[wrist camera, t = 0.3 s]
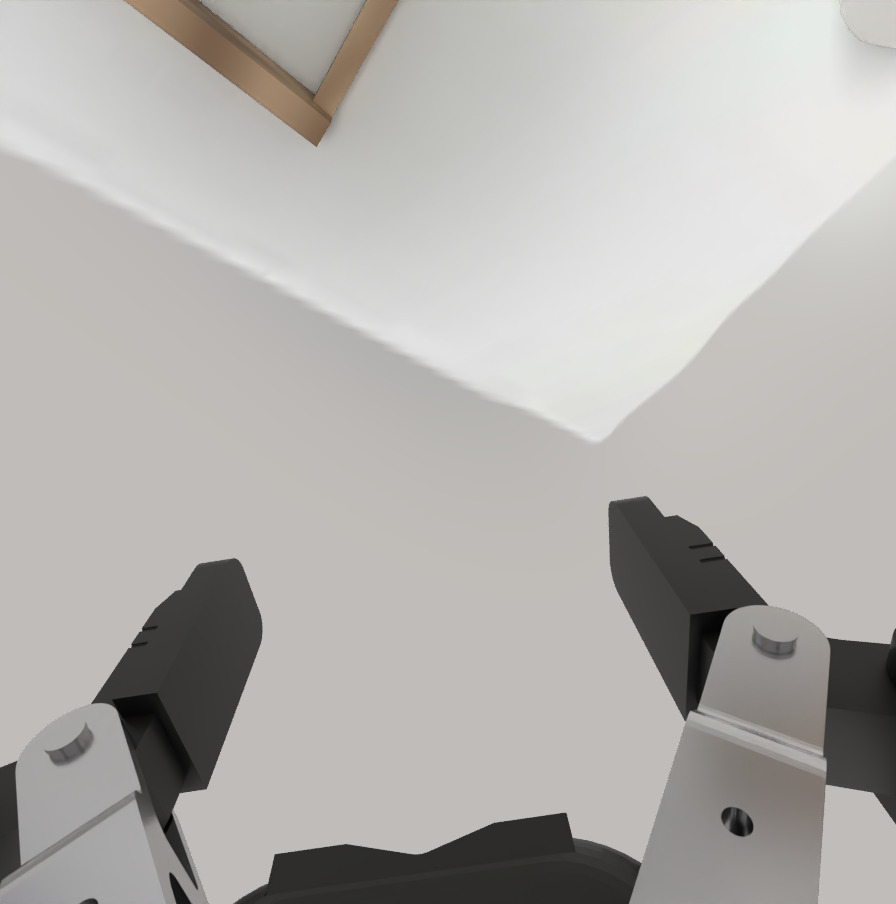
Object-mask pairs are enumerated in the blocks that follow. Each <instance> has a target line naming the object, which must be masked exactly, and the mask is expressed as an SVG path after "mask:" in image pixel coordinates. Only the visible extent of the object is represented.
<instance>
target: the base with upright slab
mask: <svg viewBox="0 0 896 904" xmlns="http://www.w3.org/2000/svg"><path fill="white" fill-rule="evenodd" d="M839 2H840V12H841V15H842V17H843V19H844V21H845V24H846V26H847V28H848V30H849V31H850V32H851V33H852V34H854V35H855V36H856V37H857V38H858V39H859V40H860V41H863V42H867V43H870V44H874V45H877V46H883V47H889V48H894V49H896V0H839Z"/></svg>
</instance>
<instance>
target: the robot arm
mask: <svg viewBox="0 0 896 904" xmlns="http://www.w3.org/2000/svg"><path fill="white" fill-rule="evenodd" d="M609 544H610V566H611V572H612V576H613V581H614V584H615V587H616V589H617V592H618V594H619V595H620V597H621V599H622V601H623V603H624V605H625V607H626V609H627V611H628V613H629V615H630V617H631V618H632V620H633V622H634V624H635V626H636V628H637V630H638V632H639V634H640V636H641V638H642V640H643V641H644V643H645V645H646V647H647V649H648V651H649V653H650V655H651V657H652V659H653V660H654V663H655V664H656V666H657V668H658V670H659V672H660V674H661V676H662V678H663V680H664V682H665V684H666V686H667V687H668V689H669V691H670V693H671V695H672V697H673V699H674V701H675V703H676V705H677V707H678V709H679V710H680V712H681V714H682V716H683V718H684V720H685V721H686V723H685V726H684V729H683V733H682V736H681V739H680V742H679V745H678V749H677V752H676V755H675V758H674V761H673V765H672V768H671V771H670V774H669V777H668V781H667V784H666V787H665V790H664V793H663V797H662V800H661V803H660V806H659V809H658V813H657V816H656V819H655V822H654V825H653V829H652V832H651V835H650V838H649V841H648V845H647V848H646V851H645V854H644V857H643V861H642V863H640V862H638V861H637V860H635V859H633V858H631V857H630V856H628V855H626V854H624V853H622V852H620V851H617V850H615V849H612V848H610V847H607V846H605V845H602V844H598V843H595V842H591V841H588V840H582V839H576V838H572V834H571V830H570V826H569V822H568V818H567V814H566V813H560V814H553V815H546V816H539V817H533V818H525V819H518V820H512V821H504V822H498V823H493V824H491V825H488V826H486V827H484V828H482V829H479V830H477V831H475V832H472V833H470V834H468V835H466V836H463V837H461V838H459V839H457V840H454V841H452V842H450V843H447V844H445V845H443V846H440V847H438V848H436V849H434V850H431V851H429V852H427V853H424V854H418V855H413V854H406V853H400V852H393V851H387V850H380V849H373V848H367V847H361V846H354V845H348V844H344V845H337V846H330V847H323V848H316V849H310V850H302V851H295V852H288V853H281V854H275V856H274V861H273V865H272V869H271V874H270V878H269V882H268V884H266V885H264V886H261V887H259V888H258V889H256V890H254V891H253V892H251V893H249V894H247V895H246V896H244V897H242V898H241V899H239V900H238V901H237V902H235V903H234V904H818V894H819V877H820V863H821V848H822V832H823V817H824V802H825V786H826V785H832V786H838V787H844V788H849V789H856V790H862V791H867V792H873V793H874V794H875V795H876V797H877V798H878V800H879V801H880V803H881V804H882V805H883V807H884V808H885V810H886V811H887V812H888V814H889V815H890V817H891V818H892V819H893V821H894V822H895V824H896V629H895V631H894V633H893V636H892V641H891V644H880V643H869V642H858V641H847V640H838V639H831V638H827V637H826V636H825V635H824V633H823V632H822V631H821V630H820V629H819V628H818V627H817V626H816V625H814V624H813V623H812V622H810V621H809V620H807V619H806V618H804V617H802V616H800V615H798V614H796V613H794V612H791V611H789V610H785V609H782V608H778V607H773V606H768V605H767V603H766V602H765V601H764V600H763V599H762V598H761V597H760V595H759V594H757V592H756V591H755V590H754V589H753V588H752V586H751V585H750V584H749V583H748V582H747V581H746V580H745V579H744V578H743V576H742V575H741V574H740V573H739V572H738V571H737V570H736V568H735V567H734V566H733V565H732V564H731V563H730V562H729V561H728V560H727V559H725V558H724V555H723V554H722V553H721V552H720V550H719V549H718V548H717V547H716V546H713V543H712V541H711V540H710V539H709V538H708V537H707V536H706V535H705V534H704V532H703V531H702V530H701V529H700V528H699V527H698V526H696V525H694V524H692V523H690V522H688V521H686V520H685V519H683V518H681V517H679V516H677V515H676V516H669V517H664V516H663V515H662V514H661V512H660V511H659V510H658V509H657V508H656V506H655V505H654V504H653V502H652V501H651V500H650V499H649V498H648V497H646V496H644V497H637V498H630V499H624V500H617V501H611V502H610V504H609ZM261 639H262V619H261V615H260V612H259V609H258V607H257V604H256V601H255V598H254V596H253V593H252V591H251V588H250V585H249V583H248V580H247V577H246V574H245V572H244V569H243V567H242V565H241V563H240V562H239V560H237V559H227V560H221V561H214V562H208V563H201V564H199V565H197V566H196V568H195V569H194V571H193V572H192V574H191V576H190V577H189V579H188V580H187V582H186V583H185V585H184V587H183V588H182V590H178V591H175V592H174V593H173V594H172V595H171V596H169V597H168V598H167V599H166V600H165V601H164V602H162V603H161V604H160V605H159V606H158V607H157V608H156V609H155V610H154V611H153V613H152V614H151V616H150V617H149V619H148V620H147V622H146V623H145V625H144V626H143V628H142V632H139V634H138V635H137V636H136V638H135V639H134V641H133V643H132V644H131V645H132V648H128V650H127V652H126V653H125V655H124V656H123V657H122V659H121V660H120V662H119V663H118V665H117V666H116V668H115V669H114V671H113V672H112V674H111V675H110V677H109V678H108V680H107V681H106V683H105V684H104V686H103V687H102V689H101V690H100V692H99V693H98V695H97V696H96V698H95V699H94V700H93V702H92V703H91V704H90V705H86V706H83V707H80V708H77V709H75V710H73V711H71V712H68V713H66V714H65V715H63V716H61V717H59V718H58V719H56V720H55V721H53V722H52V723H50V724H49V725H47V726H46V727H45V728H44V729H43V730H42V731H40V732H39V733H38V734H37V735H36V736H35V737H34V738H33V739H32V740H31V741H30V742H29V744H28V745H27V746H26V747H25V749H24V750H23V752H22V753H21V755H20V757H19V759H18V761H16V762H13V763H11V764H8V765H6V766H3V767H1V768H0V904H209V903H208V901H207V898H206V895H205V893H204V890H203V887H202V884H201V881H200V879H199V876H198V873H197V870H196V867H195V865H194V862H193V859H192V856H191V854H190V851H189V848H188V845H187V842H186V840H185V837H184V834H183V831H182V828H181V826H180V823H179V820H178V818H177V816H176V814H175V813H174V811H173V808H174V805H175V803H176V801H177V798H178V796H179V793H184V792H190V791H197V790H204V789H207V786H208V784H209V781H210V778H211V775H212V773H213V770H214V768H215V765H216V762H217V760H218V757H219V754H220V752H221V749H222V746H223V743H224V741H225V738H226V735H227V733H228V730H229V727H230V725H231V722H232V719H233V717H234V714H235V711H236V709H237V706H238V703H239V700H240V697H241V694H242V692H243V690H244V687H245V684H246V682H247V679H248V676H249V673H250V671H251V668H252V666H253V663H254V660H255V658H256V655H257V652H258V649H259V647H260V644H261Z"/></svg>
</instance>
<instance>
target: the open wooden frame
mask: <svg viewBox="0 0 896 904" xmlns="http://www.w3.org/2000/svg"><path fill="white" fill-rule="evenodd" d="M124 1H126V2H127V3H128V4H130V5H131V6H132V7H134V8H135V9H136V10H137V11H139V12H140V13H141V14H143V15H144V16H145V17H147V18H148V19H149V20H151V21H152V22H153V23H155V24H156V25H157V26H158V27H160V28H161V29H162V30H164V31H165V32H166V33H168V34H169V35H170V36H172V37H173V38H174V39H176V40H177V41H178V42H180V43H181V44H182V45H183V46H185V47H186V48H187V49H189V50H190V51H191V52H193V53H194V54H195V55H197V56H198V57H199V58H201V59H202V60H203V61H204V62H206V63H207V64H208V65H210V66H211V67H212V68H214V69H215V70H216V71H218V72H219V73H220V74H222V75H223V76H224V77H226V78H227V79H228V80H229V81H231V82H232V83H233V84H235V85H236V86H237V87H239V88H240V89H241V90H243V91H244V92H245V93H247V94H248V95H249V96H250V97H252V98H253V99H254V100H256V101H257V102H258V103H260V104H261V105H262V106H264V107H265V108H266V109H268V110H269V111H270V112H272V113H273V114H274V115H275V116H277V117H278V118H279V119H281V120H282V121H283V122H285V123H286V124H287V125H289V126H290V127H291V128H293V129H294V130H295V131H296V132H298V133H299V134H300V135H302V136H303V137H304V138H306V139H307V140H308V141H310V142H311V143H312V144H314V145H315V146H316V147H317V146H318V144H319V142H320V140H321V139H322V137H323V135H324V133H325V131H326V130H327V128H328V126H329V124H330V123H331V119H332V116H333V115H334V113H335V111H336V109H337V107H338V106H339V104H340V102H341V100H342V99H343V97H344V95H345V93H346V92H347V90H348V88H349V86H350V84H351V83H352V81H353V79H354V77H355V76H356V74H357V72H358V70H359V69H360V67H361V65H362V63H363V61H364V60H365V58H366V56H367V54H368V53H369V51H370V49H371V47H372V46H373V44H374V42H375V40H376V38H377V37H378V35H379V33H380V31H381V30H382V28H383V26H384V24H385V23H386V21H387V19H388V17H389V15H390V14H391V12H392V10H393V8H394V7H395V5H396V3H397V1H398V0H366V2H365V3H364V5H363V7H362V9H361V11H360V13H359V15H358V16H357V18H356V20H355V22H354V24H353V26H352V28H351V30H350V31H349V33H348V35H347V37H346V39H345V41H344V43H343V44H342V46H341V48H340V50H339V52H338V54H337V56H336V57H335V59H334V61H333V63H332V65H331V67H330V69H329V70H328V72H327V74H326V76H325V78H324V80H323V82H322V83H321V85H320V87H319V89H318V91H317V93H316V95H314V94H313V93H311V92H310V91H309V90H308V89H306V88H305V87H304V86H303V85H302V84H300V83H299V82H298V81H297V80H295V79H294V78H293V77H292V76H290V75H289V74H288V73H287V72H286V71H284V70H283V69H282V68H281V67H279V66H278V65H277V64H276V63H274V62H273V61H272V60H271V59H270V58H268V57H267V56H266V55H265V54H263V53H262V52H261V51H260V50H258V49H257V48H256V47H255V46H254V45H252V44H251V43H250V42H249V41H247V40H246V39H245V38H244V37H242V36H241V35H240V34H239V33H237V32H236V31H235V30H234V29H233V28H231V27H230V26H229V25H228V24H226V23H225V22H224V21H223V20H221V19H220V18H219V17H218V16H217V15H215V14H214V13H213V12H212V11H210V10H209V9H208V8H207V7H205V6H204V5H203V4H202V3H201V2H199V1H198V0H124Z"/></svg>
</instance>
